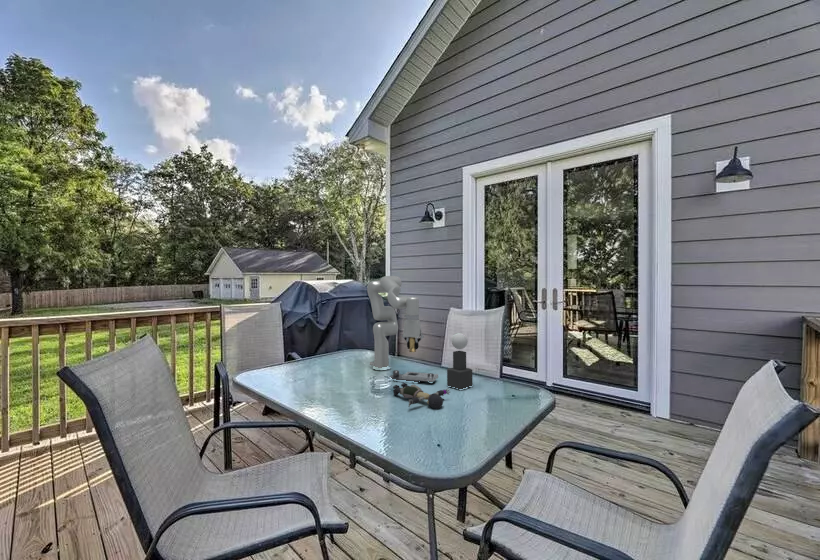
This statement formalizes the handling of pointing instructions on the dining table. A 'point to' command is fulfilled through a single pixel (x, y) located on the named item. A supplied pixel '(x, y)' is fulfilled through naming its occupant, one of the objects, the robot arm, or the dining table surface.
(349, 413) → the dining table surface
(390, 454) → the dining table surface
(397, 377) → the grey flat block
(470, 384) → the sculpture
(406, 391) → the toy
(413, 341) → the pin
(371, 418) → the dining table surface
